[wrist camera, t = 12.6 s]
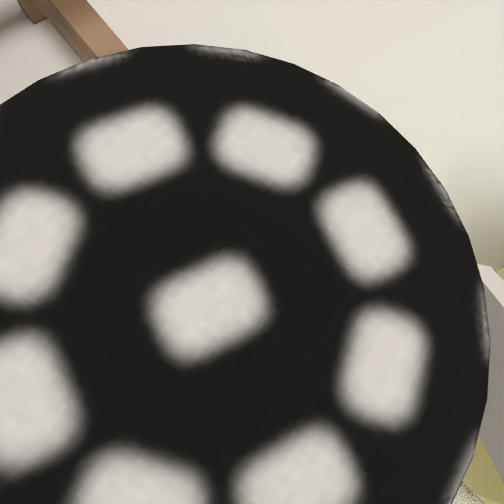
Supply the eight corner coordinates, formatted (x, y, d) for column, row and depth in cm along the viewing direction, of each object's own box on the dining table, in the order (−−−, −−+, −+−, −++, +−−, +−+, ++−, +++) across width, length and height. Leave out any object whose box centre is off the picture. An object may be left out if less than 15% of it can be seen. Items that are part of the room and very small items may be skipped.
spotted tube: (226, 253, 27) (320, -15, 7) (287, 374, 25) (596, 435, 6) (100, 312, 25) (-225, 158, 5) (159, 446, 23) (13, 872, 4)
